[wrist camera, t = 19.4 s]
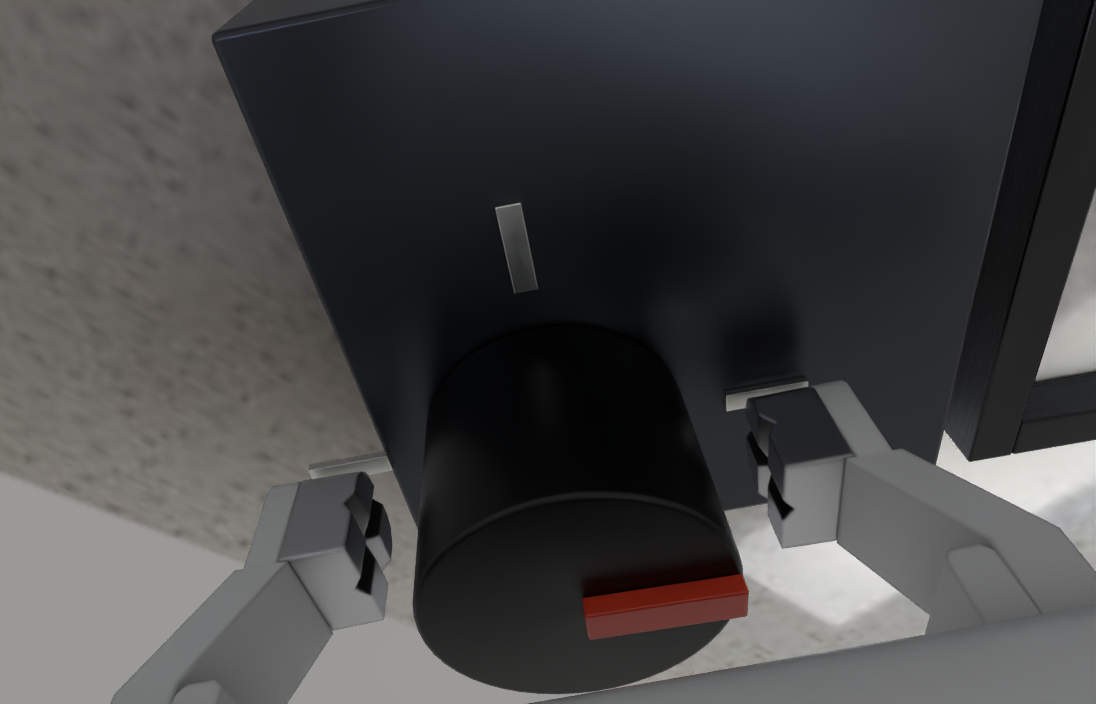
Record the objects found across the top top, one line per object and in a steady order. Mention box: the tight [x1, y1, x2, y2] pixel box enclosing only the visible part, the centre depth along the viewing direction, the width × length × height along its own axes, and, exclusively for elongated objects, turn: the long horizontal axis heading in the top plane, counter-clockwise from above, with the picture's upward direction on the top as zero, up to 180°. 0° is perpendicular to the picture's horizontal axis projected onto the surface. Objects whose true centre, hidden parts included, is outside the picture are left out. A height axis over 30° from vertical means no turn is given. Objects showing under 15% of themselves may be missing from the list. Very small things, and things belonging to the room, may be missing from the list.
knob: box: [413, 326, 749, 694], centre depth 11 cm, size 4×4×4 cm
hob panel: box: [212, 0, 1043, 528], centre depth 13 cm, size 11×11×3 cm
